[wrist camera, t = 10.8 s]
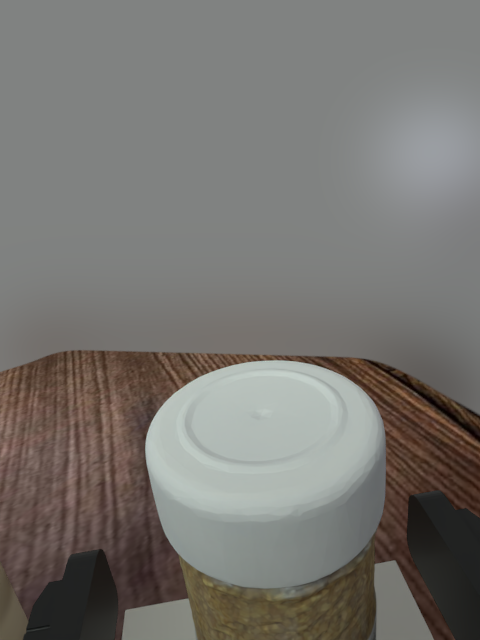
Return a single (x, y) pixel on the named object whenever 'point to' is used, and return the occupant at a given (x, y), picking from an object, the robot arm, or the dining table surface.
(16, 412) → the dining table surface
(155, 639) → the ceramic tile
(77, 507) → the dining table surface
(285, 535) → the sprinkles bottle
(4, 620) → the beech dowel
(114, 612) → the robot arm
